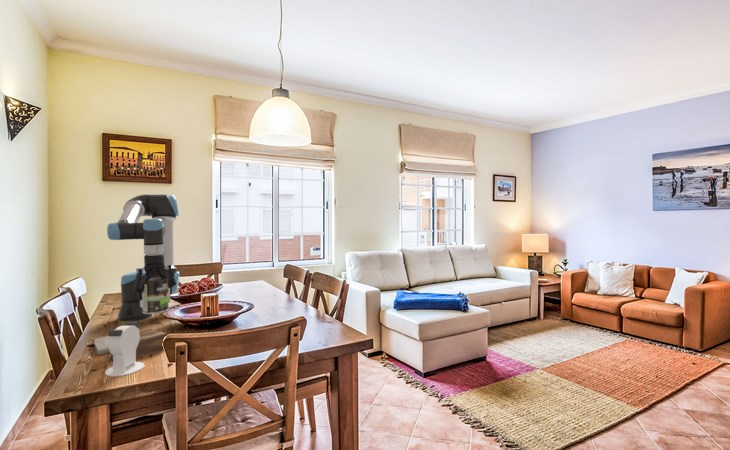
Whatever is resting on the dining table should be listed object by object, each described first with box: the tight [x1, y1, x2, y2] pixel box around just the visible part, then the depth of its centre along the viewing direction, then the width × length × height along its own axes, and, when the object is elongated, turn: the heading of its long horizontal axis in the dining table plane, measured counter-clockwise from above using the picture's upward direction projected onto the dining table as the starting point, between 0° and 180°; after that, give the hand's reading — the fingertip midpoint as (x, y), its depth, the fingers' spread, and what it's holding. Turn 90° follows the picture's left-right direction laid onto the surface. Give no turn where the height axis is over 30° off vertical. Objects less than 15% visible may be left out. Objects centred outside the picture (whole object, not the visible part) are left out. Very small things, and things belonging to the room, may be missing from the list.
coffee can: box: [141, 277, 170, 315], centre depth 164 cm, size 10×10×14 cm
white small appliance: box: [104, 321, 145, 378], centre depth 128 cm, size 12×11×15 cm
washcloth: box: [93, 336, 111, 356], centre depth 152 cm, size 12×18×3 cm, turn 41°
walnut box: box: [136, 328, 168, 359], centre depth 146 cm, size 12×12×6 cm
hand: (155, 304), depth 164 cm, fingers closed on coffee can, 10 cm apart
